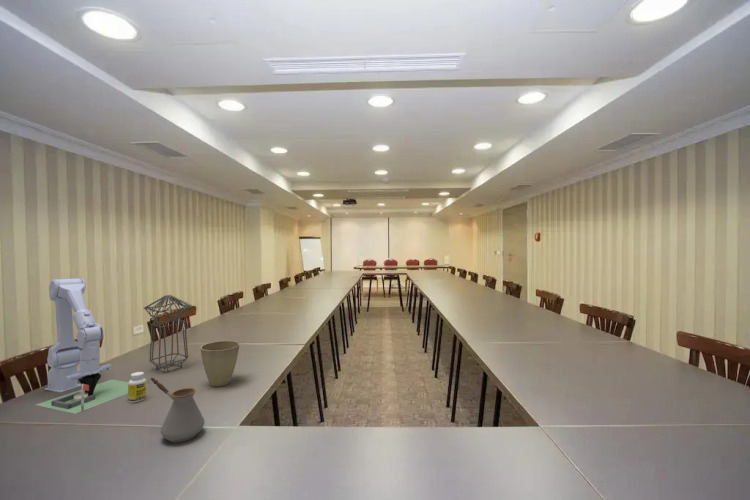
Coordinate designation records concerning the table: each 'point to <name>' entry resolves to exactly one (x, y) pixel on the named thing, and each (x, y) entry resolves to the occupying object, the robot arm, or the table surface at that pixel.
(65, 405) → the grey frame
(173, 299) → the geometric lantern
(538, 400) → the table surface
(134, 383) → the supplement bottle
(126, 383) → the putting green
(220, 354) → the plant pot
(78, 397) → the stone
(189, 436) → the coffee pot
